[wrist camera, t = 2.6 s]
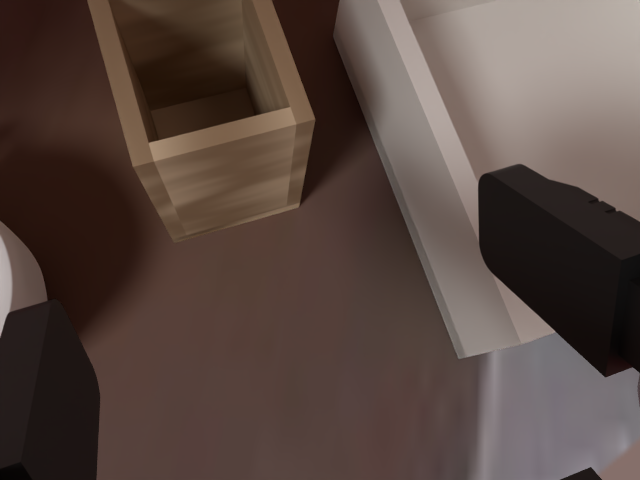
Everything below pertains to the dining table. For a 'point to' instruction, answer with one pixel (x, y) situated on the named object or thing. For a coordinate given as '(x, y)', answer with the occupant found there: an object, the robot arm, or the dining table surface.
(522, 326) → the big plastic crate
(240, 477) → the dining table surface
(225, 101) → the small wooden crate
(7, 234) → the teacup
